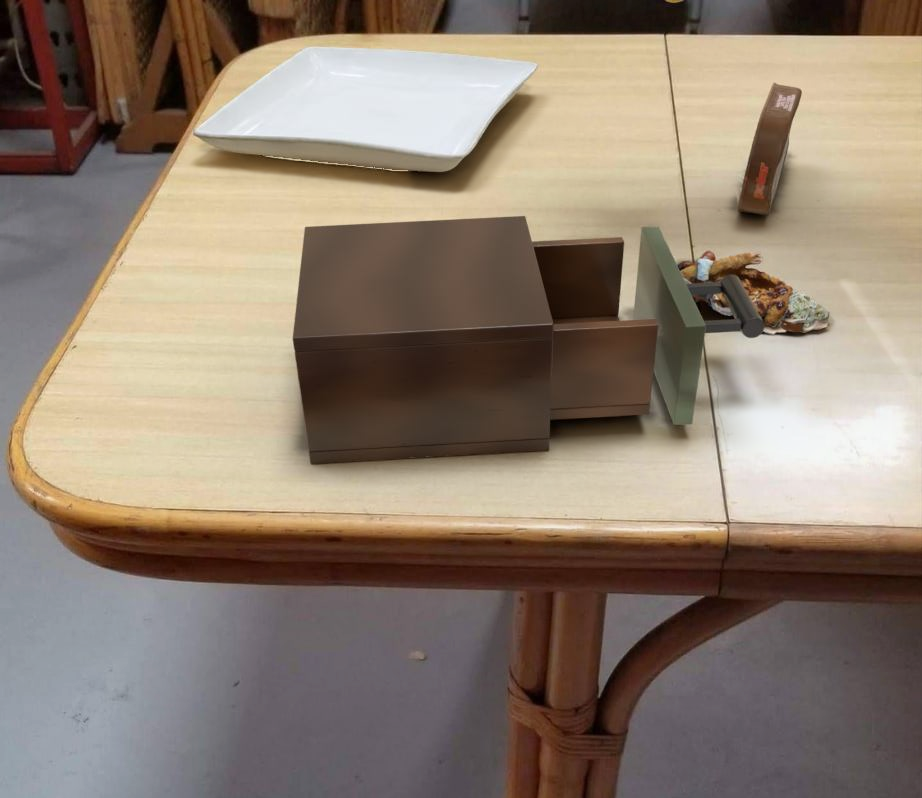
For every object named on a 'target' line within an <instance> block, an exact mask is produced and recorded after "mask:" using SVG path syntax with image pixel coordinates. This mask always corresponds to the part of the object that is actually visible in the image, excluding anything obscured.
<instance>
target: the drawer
mask: <svg viewBox="0 0 922 798" xmlns="http://www.w3.org/2000/svg"><path fill="white" fill-rule="evenodd" d="M639 240H640V241H639V249H638V250H639V252H638V262H637V272H636V273H637V274H636V284H635V295H634V306H633V317H632V319H625V320H620V317H619V314H620V313H619V312H620V301H621V299H620V298H621V288H622V277H623V275H622V274H623V264H624V251H625V240H624V238H623V236H620V237H619V236H617V237H615V236H614V237H596V238H595V237H594V238H575V239H556V240H553V239H552V240H537V241H534V240H532V243H533V247H534V251H535V255H536V259H537V263H538V266H539V270H540V274H541V278H542V282H543V286H544V290H545V293H546V297H547V301H548V305H549V309H550V313H551V316H552V320H553V324H554V331H553V358H552V385H551V412H550V421H554V420H555V421H556V420H572V419H573V420H574V419H590V418H607V417H608V418H609V417H627V416H643V415H649V414H650V408H651V407H650V406H651V397H652V388H653V380H654V379H653V378H654V377H655V379H656V382H657V385H658V387H659V390H660V393H661V395H662V398H663V401H664V403H665V406H666V408H667V411H668V414H669V417H670V419H671V422H672V425H674V426H680V425H681V426H682V425H692V424H693V420H694V414H695V407H696V400H697V393H698V384H699V377H700V371H701V365H702V357H703V351H704V343H705V337H706V334H715V333H716V334H717V333H735V332H737V333H738V332H741V333H742V334H743V336H744V337H745V338H748V339H755V338H758V337H759V336H760V335H761V334H762V333H763V332H764V331H763V330H764V326H765V325H764V322H763V320H762V318H761V317H760V315H759V313H758V311H757V309H756V308H755V306H754V304H753V302H752V301H751V299H750V297H749V295H748V293H747V292H746V290H745V288H744V286H743V285H742V283H741V281H740V279H739V278H738V277H737V276H736V275H727V276H725V277H723V278H722V279H721V281H720V282H712V283H692V284H686V283H685V281H684V279H683V276H682V274H681V272H680V270H679V268H678V266H677V265H678V264H677V262H676V260H675V257H674V255H673V253H672V252H671V249H670V247H669V245H668V243H667V240H666V238H665V237H664V235H663V233H662V231H661V229H660V226H642V227H641V228H640V239H639ZM721 293H722V295H723V297H724V298H725V300H726V302H727V304H728V306H729V308H730V310H731V312H732V314H733V315H732V316H733V319H717V320H716V319H715V320H704V318H703V316H702V315H701V312H700V310H699V308H698V305H697V304H696V303H695V302H694V300H693V297H692V295H705V294H721Z"/></svg>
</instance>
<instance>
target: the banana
mask: <svg viewBox="0 0 922 798" xmlns="http://www.w3.org/2000/svg"><path fill="white" fill-rule="evenodd" d="M665 1H666V2H668V3H671V4H672V3H674V4H675V3H680V2H683V1H684V0H665Z"/></svg>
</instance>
